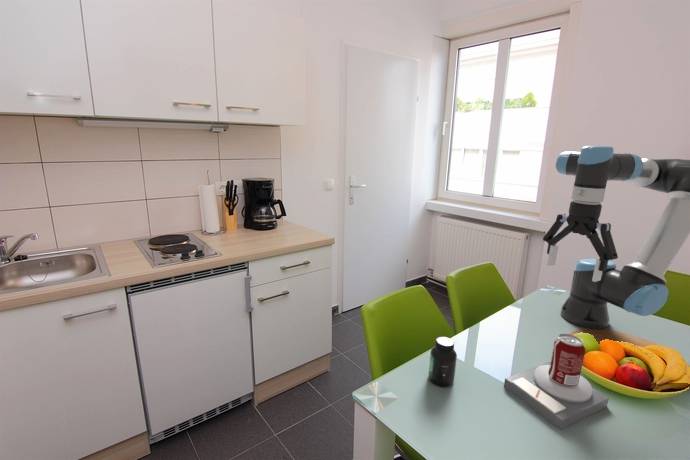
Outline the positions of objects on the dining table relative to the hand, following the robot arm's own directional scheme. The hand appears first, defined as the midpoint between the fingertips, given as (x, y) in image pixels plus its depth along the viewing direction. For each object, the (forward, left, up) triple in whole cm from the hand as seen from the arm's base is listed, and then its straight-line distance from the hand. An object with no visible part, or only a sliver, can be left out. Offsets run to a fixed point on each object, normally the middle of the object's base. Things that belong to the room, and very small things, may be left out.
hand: (572, 272), depth 105 cm
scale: (+20, +13, -27) cm, 36 cm away
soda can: (+18, +13, -23) cm, 32 cm away
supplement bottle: (+43, -4, -27) cm, 51 cm away
